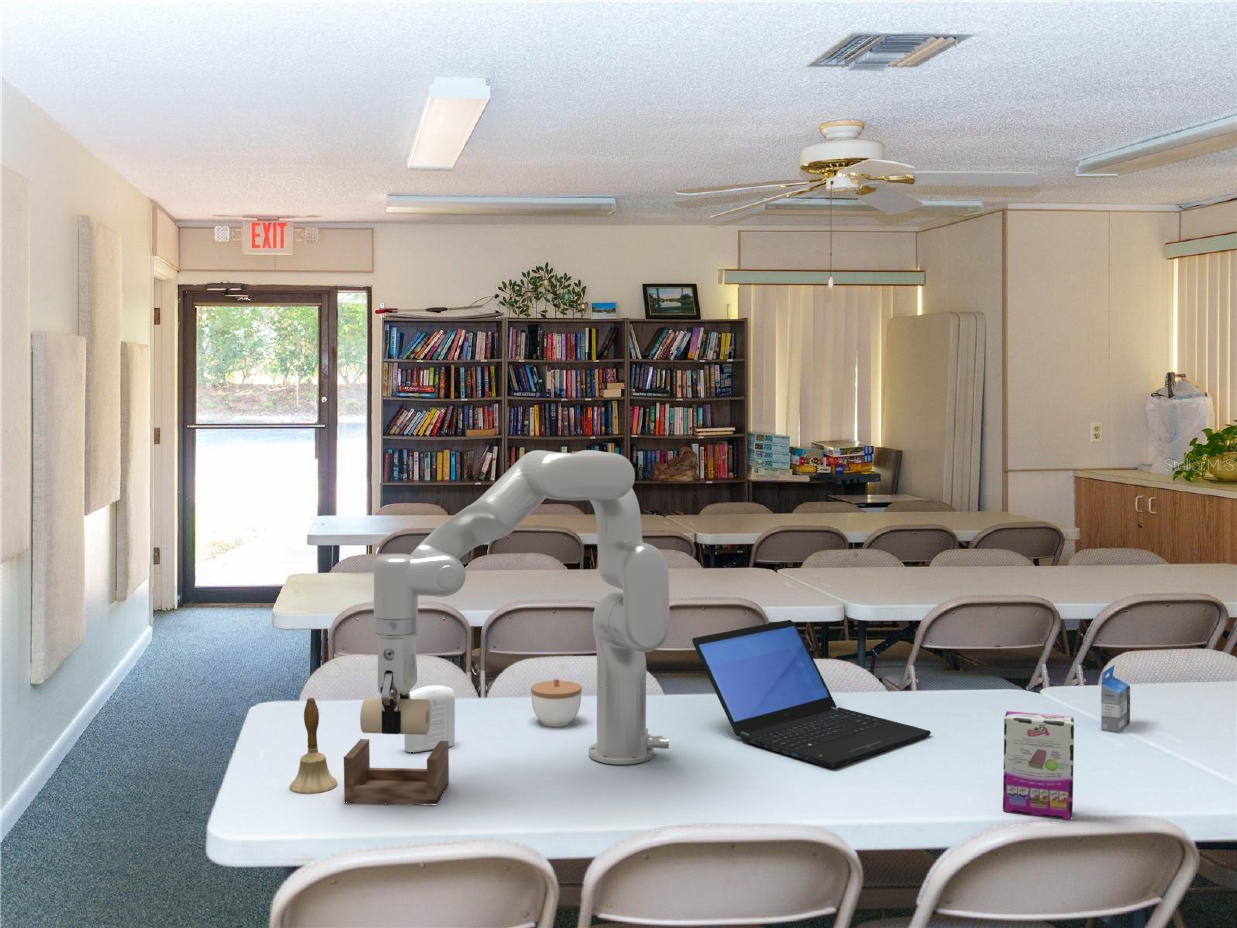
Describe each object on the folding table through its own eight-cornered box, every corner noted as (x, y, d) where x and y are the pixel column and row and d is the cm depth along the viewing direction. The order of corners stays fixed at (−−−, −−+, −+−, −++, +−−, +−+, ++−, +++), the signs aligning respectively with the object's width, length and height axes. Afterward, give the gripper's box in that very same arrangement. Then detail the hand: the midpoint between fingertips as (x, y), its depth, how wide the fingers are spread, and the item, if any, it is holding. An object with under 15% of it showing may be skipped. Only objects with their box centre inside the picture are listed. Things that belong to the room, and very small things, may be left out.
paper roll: (431, 728, 208) (431, 695, 208) (423, 739, 202) (423, 705, 202) (369, 726, 209) (368, 693, 209) (359, 737, 203) (359, 703, 203)
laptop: (832, 773, 219) (833, 671, 218) (688, 729, 247) (689, 637, 246) (933, 738, 241) (935, 645, 240) (791, 700, 269) (792, 617, 268)
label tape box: (1119, 733, 243) (1121, 675, 243) (1099, 730, 246) (1101, 672, 245) (1130, 724, 250) (1132, 667, 250) (1110, 720, 253) (1112, 664, 252)
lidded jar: (591, 724, 249) (591, 680, 248) (547, 732, 243) (547, 688, 242) (564, 712, 257) (564, 670, 257) (521, 720, 251) (521, 677, 251)
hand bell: (312, 797, 205) (311, 707, 204) (279, 788, 209) (278, 700, 208) (347, 783, 212) (346, 696, 211) (314, 775, 216) (313, 689, 215)
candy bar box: (1072, 810, 200) (1075, 715, 198) (1072, 820, 195) (1075, 723, 194) (1003, 802, 204) (1005, 709, 202) (1001, 811, 199) (1004, 716, 198)
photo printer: (449, 740, 237) (448, 680, 236) (458, 746, 233) (458, 685, 233) (401, 749, 231) (400, 687, 231) (410, 755, 228) (409, 692, 227)
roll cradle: (448, 784, 211) (448, 740, 211) (436, 805, 201) (436, 759, 200) (361, 782, 212) (360, 739, 212) (344, 803, 202) (343, 757, 201)
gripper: (405, 637, 196) (405, 743, 197) (428, 616, 213) (428, 714, 214) (360, 636, 196) (361, 742, 197) (387, 615, 213) (387, 713, 214)
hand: (396, 726), depth 206 cm, fingers closed on paper roll, 6 cm apart
